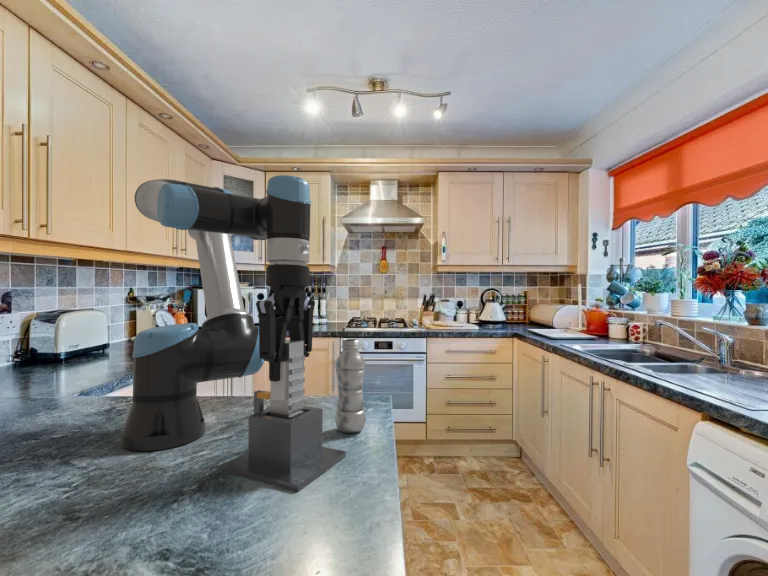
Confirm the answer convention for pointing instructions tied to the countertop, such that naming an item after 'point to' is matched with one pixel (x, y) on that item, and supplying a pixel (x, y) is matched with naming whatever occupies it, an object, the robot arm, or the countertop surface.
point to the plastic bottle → (350, 388)
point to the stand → (284, 448)
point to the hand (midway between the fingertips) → (287, 395)
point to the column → (291, 382)
